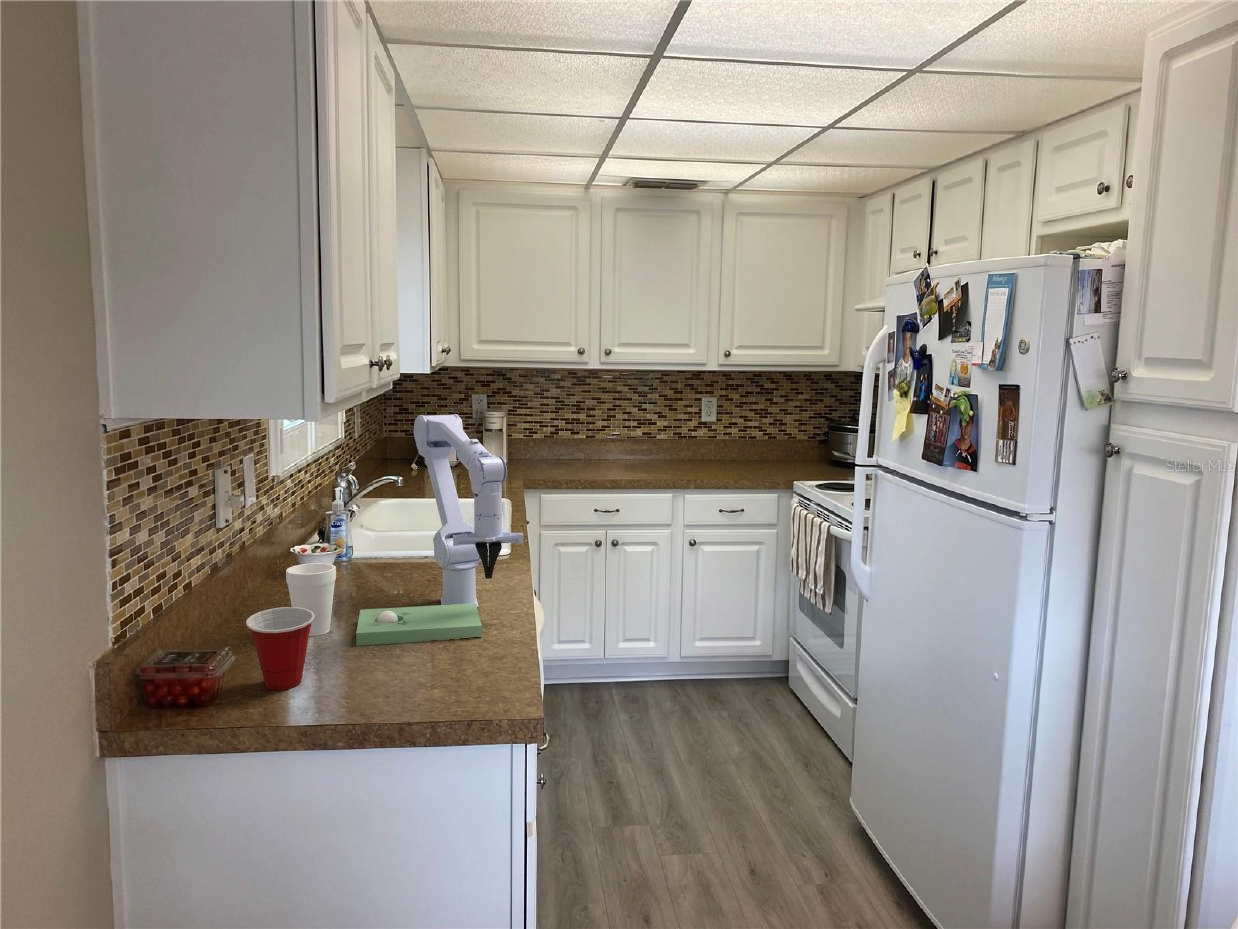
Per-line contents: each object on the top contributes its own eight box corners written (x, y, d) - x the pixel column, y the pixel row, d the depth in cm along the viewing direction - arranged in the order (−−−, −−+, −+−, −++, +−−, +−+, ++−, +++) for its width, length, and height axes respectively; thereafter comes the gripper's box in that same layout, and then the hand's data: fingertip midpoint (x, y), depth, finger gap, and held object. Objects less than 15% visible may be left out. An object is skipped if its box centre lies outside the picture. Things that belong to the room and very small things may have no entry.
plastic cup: (244, 699, 141) (241, 628, 140) (253, 676, 152) (250, 609, 150) (314, 693, 144) (312, 623, 143) (318, 670, 154) (316, 605, 153)
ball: (391, 628, 179) (373, 624, 177) (398, 610, 179) (380, 606, 177) (395, 635, 176) (376, 631, 174) (402, 617, 176) (383, 612, 174)
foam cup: (321, 621, 183) (319, 560, 181) (346, 630, 177) (345, 568, 175) (279, 632, 175) (276, 569, 174) (304, 642, 170) (302, 577, 168)
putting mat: (360, 621, 183) (360, 609, 183) (475, 614, 189) (475, 603, 188) (356, 645, 168) (356, 633, 167) (481, 637, 173) (481, 625, 173)
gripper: (453, 518, 176) (454, 583, 178) (524, 516, 179) (525, 580, 181) (452, 512, 183) (453, 575, 185) (521, 510, 186) (521, 572, 188)
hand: (488, 577), depth 183 cm, fingers closed
